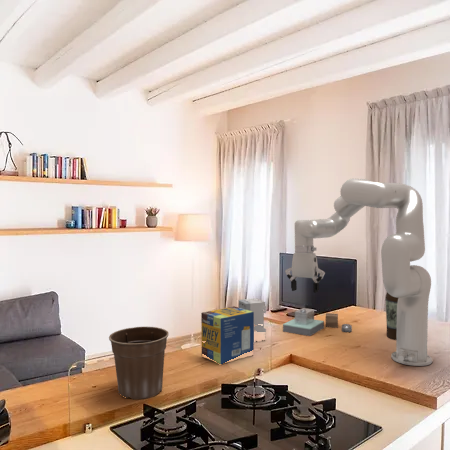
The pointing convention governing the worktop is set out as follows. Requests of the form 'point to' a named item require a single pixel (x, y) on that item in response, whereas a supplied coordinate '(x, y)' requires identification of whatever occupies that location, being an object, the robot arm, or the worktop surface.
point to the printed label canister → (391, 316)
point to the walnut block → (331, 320)
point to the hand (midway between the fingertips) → (304, 291)
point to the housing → (304, 316)
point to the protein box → (227, 333)
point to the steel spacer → (346, 328)
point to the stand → (303, 327)
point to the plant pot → (139, 360)
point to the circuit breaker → (255, 311)
